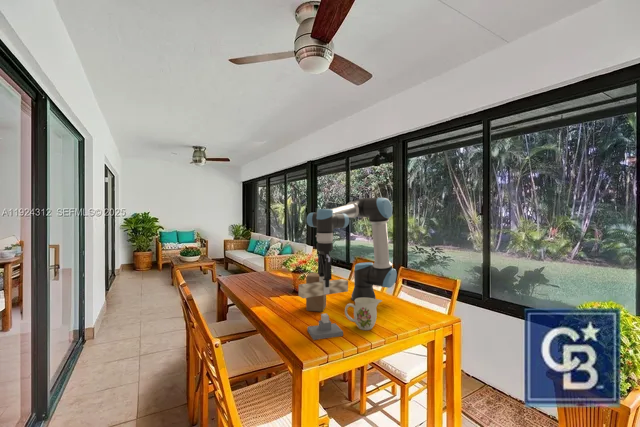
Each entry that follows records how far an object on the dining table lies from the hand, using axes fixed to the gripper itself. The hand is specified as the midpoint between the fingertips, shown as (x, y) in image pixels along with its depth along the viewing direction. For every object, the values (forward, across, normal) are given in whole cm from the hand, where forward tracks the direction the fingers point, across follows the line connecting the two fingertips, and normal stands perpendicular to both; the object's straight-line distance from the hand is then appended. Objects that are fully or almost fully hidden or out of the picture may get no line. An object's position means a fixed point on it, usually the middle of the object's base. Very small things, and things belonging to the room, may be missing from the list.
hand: (324, 292), depth 136 cm
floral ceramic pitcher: (+19, -1, +20) cm, 28 cm away
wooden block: (+19, -33, +6) cm, 38 cm away
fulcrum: (+19, 0, 0) cm, 19 cm away
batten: (+1, 0, 0) cm, 1 cm away
